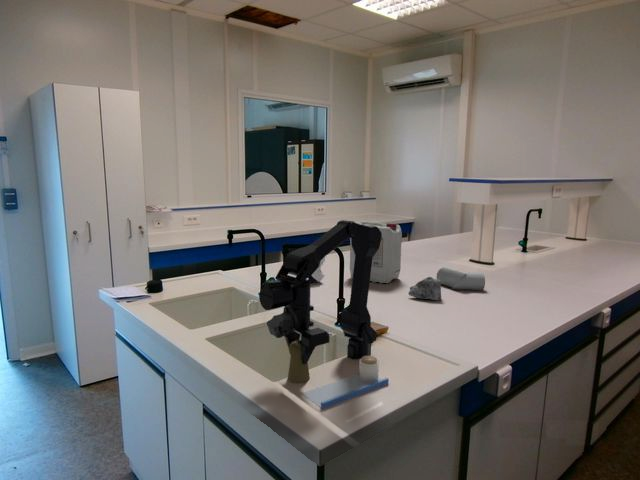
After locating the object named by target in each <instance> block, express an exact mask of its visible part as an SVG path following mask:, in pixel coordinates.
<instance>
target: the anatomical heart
mask: <svg viewBox="0 0 640 480" xmlns="http://www.w3.org/2000/svg"><path fill="white" fill-rule="evenodd" d="M325 261H326V256H325V257H324V258H323V259H322V260H321V262H320V265H319V267H318V269H317V270H316V271H315V272H314V273H313V274H312V277H313V278H314V279H316V280H317V283H318V282H319V283H320V281H323V279H324V278H325V277H326V276H325V273H324V272H323V271H322V269H321V267H323V265H324V263H326V262H325Z"/></svg>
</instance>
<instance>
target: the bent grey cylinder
mask: <svg viewBox="0 0 640 480" xmlns="http://www.w3.org/2000/svg"><path fill="white" fill-rule="evenodd" d="M436 279H438V280H440V283H441V285H444V286H447V287H449V288H452V289H451V290H454V291H455V290H457V291H459V290H460V291H461V290H464V291H483V290H485V287H486V276H485V274H484V272H471V271H469V272H461V271H458V270H455V269H451V268H447V267H441V268H439V269H438V271H437V273H436Z"/></svg>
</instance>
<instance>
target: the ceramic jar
mask: <svg viewBox="0 0 640 480" xmlns="http://www.w3.org/2000/svg"><path fill="white" fill-rule="evenodd" d="M358 360H359V361H358V362H359V366H358V369H359V370H358V373H359V380H360V381H361V382H363V383H367V384H371V383H374V382H376V381H378V378H379V374H380V373H379V371H380V370H379V367H380V366H379V365H380V364H379V363H380V361H379V359H378V358H377V357H376V356H373V355H369V356H363V357H362V358H361V359H358Z"/></svg>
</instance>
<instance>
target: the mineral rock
mask: <svg viewBox="0 0 640 480" xmlns="http://www.w3.org/2000/svg"><path fill="white" fill-rule="evenodd" d="M407 294H408V295H409V296H410V297H413V298H417V299H421V300H432V301H441V299H442V284H441V283H440V280H438V279H437V278H433V277H432V276H427V277H426V278H424V279H422V280H420V281H418V282H417V283H416V284H414V285H412V286H410V287H409V291H408V293H407Z"/></svg>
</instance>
